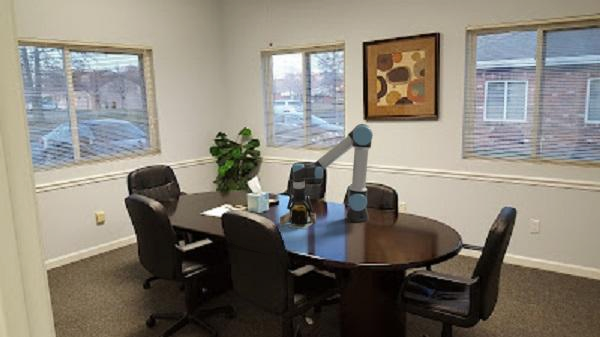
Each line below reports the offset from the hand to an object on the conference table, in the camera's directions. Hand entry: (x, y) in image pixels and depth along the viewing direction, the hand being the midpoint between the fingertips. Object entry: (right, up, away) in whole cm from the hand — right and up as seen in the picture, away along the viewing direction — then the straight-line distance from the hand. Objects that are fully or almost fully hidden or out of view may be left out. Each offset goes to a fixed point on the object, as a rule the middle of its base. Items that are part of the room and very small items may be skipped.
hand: (300, 220), depth 297 cm
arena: (-1, -3, +3) cm, 4 cm away
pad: (0, -3, +1) cm, 3 cm away
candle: (0, -1, 0) cm, 1 cm away
